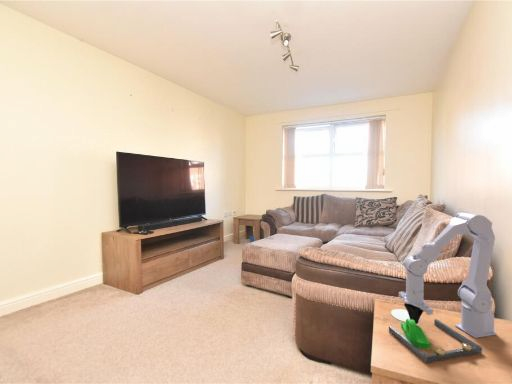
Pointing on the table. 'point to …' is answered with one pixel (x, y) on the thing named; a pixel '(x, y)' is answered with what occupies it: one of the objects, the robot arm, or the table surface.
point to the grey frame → (440, 354)
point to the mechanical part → (415, 334)
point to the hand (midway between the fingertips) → (414, 323)
